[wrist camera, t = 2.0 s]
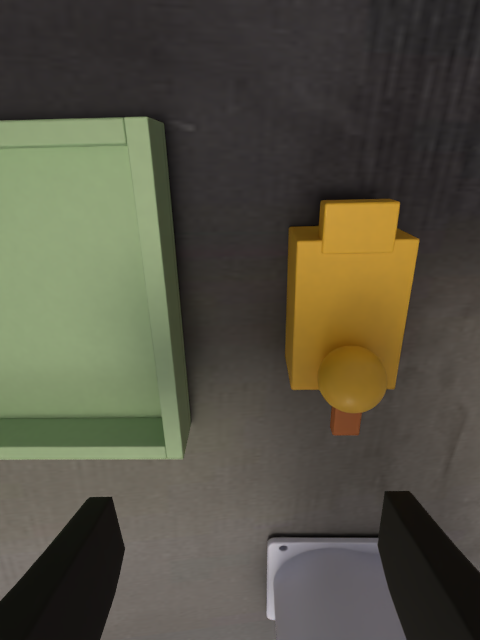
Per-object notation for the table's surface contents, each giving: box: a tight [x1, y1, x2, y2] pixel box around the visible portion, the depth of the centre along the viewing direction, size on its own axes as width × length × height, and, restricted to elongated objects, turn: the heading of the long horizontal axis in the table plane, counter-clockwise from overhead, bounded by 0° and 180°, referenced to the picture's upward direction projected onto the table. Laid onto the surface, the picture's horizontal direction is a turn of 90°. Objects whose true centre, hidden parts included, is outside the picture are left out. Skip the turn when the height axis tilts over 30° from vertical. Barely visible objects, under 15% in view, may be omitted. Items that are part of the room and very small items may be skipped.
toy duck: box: [285, 199, 419, 435], centre depth 15 cm, size 9×4×5 cm, turn 1°
